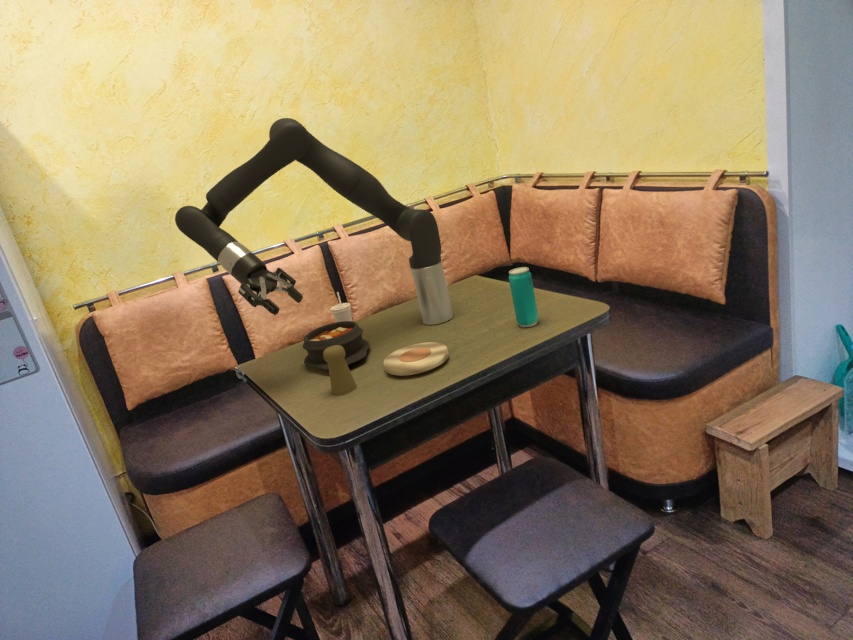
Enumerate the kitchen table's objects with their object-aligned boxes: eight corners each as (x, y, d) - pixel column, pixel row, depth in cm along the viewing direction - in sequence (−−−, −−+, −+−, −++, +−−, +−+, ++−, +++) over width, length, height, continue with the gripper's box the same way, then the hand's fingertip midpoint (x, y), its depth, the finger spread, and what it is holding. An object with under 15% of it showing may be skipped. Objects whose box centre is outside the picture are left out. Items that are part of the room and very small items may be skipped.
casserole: (383, 359, 157) (375, 330, 154) (315, 383, 151) (306, 353, 149) (358, 337, 180) (351, 311, 177) (298, 357, 174) (290, 331, 172)
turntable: (396, 355, 158) (393, 345, 157) (454, 348, 153) (452, 338, 152) (377, 382, 143) (374, 371, 142) (441, 375, 138) (439, 364, 137)
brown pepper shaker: (352, 393, 140) (339, 350, 137) (328, 396, 142) (315, 354, 138) (359, 382, 146) (348, 340, 142) (337, 385, 147) (325, 344, 144)
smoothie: (362, 331, 184) (350, 288, 180) (351, 339, 179) (339, 295, 175) (345, 332, 187) (333, 290, 183) (334, 340, 182) (321, 297, 178)
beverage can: (539, 319, 160) (530, 265, 155) (539, 326, 154) (529, 271, 150) (518, 322, 161) (508, 269, 156) (517, 329, 156) (507, 275, 151)
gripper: (224, 260, 139) (274, 305, 136) (266, 244, 150) (313, 285, 147) (216, 284, 143) (264, 327, 140) (257, 266, 154) (303, 306, 152)
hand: (289, 306), depth 144 cm, fingers open, 8 cm apart
